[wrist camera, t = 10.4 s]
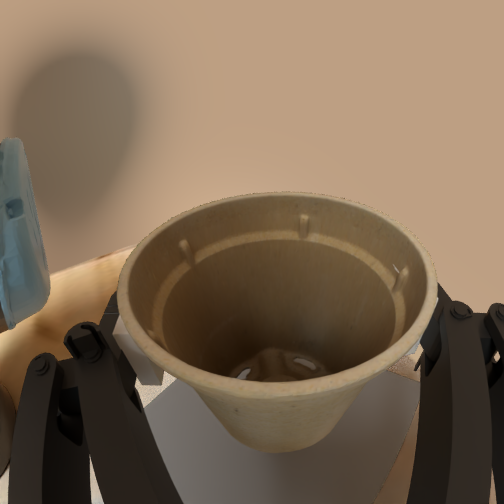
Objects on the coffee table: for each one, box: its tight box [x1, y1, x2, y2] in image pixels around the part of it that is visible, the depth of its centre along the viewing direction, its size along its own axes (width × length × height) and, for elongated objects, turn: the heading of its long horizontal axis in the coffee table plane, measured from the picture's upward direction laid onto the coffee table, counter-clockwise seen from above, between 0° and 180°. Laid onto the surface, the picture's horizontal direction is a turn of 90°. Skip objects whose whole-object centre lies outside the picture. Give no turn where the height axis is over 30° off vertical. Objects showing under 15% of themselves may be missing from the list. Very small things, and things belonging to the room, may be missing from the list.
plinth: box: [144, 358, 420, 504], centre depth 17 cm, size 16×16×4 cm
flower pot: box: [117, 192, 438, 453], centre depth 11 cm, size 9×9×9 cm
